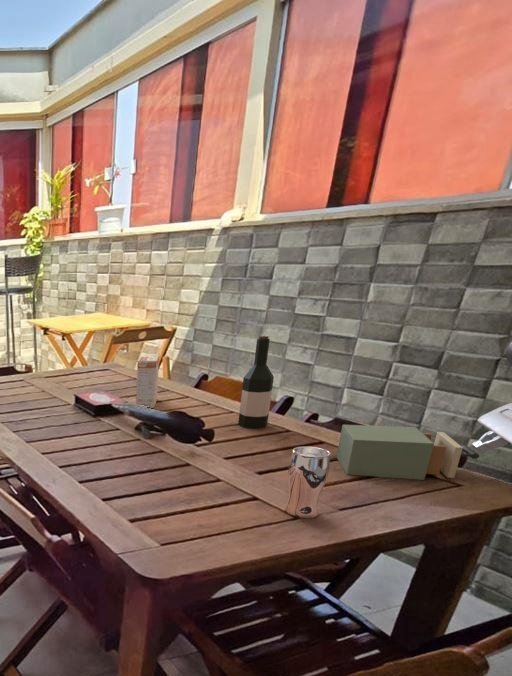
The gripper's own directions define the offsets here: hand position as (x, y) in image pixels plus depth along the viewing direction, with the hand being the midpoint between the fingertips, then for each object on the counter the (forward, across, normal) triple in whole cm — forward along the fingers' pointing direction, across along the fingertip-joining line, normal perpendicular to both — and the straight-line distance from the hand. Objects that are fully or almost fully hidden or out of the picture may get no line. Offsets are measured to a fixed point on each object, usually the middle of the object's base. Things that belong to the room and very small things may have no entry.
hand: (475, 448), depth 118 cm
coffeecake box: (+60, -57, -49) cm, 96 cm away
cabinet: (+17, 0, -7) cm, 18 cm away
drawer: (+10, 0, -2) cm, 11 cm away
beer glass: (+31, +32, -21) cm, 49 cm away
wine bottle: (+34, -33, -24) cm, 54 cm away
